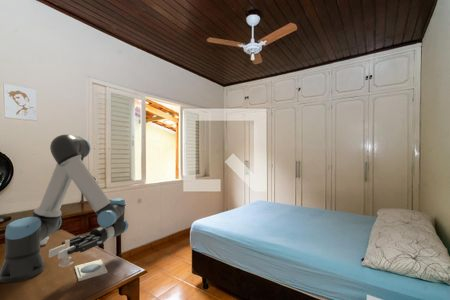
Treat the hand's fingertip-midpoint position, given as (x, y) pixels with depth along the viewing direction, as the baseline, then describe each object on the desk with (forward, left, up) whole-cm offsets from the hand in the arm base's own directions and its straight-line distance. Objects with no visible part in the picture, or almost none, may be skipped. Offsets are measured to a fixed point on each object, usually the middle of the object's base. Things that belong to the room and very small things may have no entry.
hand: (54, 254), depth 87 cm
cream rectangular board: (-9, +14, -14) cm, 22 cm away
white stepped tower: (-3, +4, -6) cm, 8 cm away
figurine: (-59, -4, -15) cm, 61 cm away
